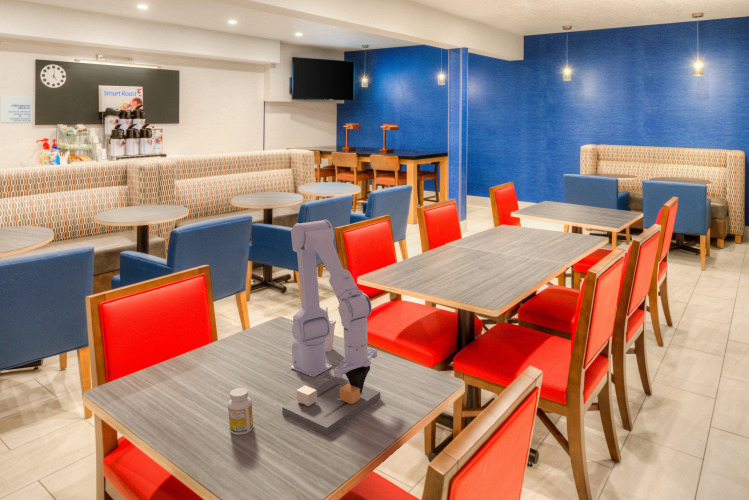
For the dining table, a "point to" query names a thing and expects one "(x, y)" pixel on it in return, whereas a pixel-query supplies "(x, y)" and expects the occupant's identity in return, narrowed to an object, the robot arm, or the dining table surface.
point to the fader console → (330, 407)
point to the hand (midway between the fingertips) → (357, 392)
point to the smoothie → (331, 336)
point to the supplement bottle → (240, 412)
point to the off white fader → (306, 395)
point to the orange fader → (349, 393)
